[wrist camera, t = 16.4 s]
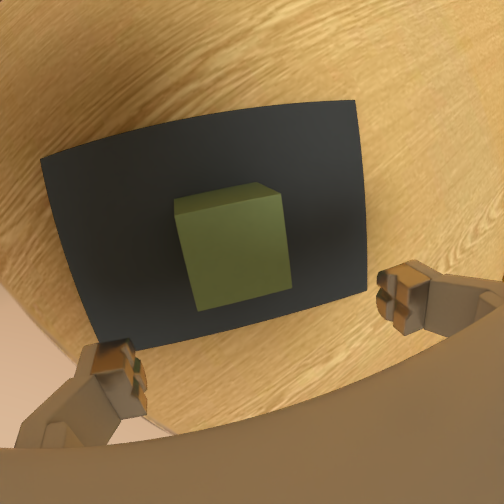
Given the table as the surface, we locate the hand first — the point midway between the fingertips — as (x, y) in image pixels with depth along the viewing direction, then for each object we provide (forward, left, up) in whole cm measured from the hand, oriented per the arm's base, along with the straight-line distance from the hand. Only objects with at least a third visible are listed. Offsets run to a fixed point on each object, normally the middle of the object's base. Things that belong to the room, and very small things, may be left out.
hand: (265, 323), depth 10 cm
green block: (0, 0, -11) cm, 11 cm away
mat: (0, 0, -11) cm, 11 cm away
